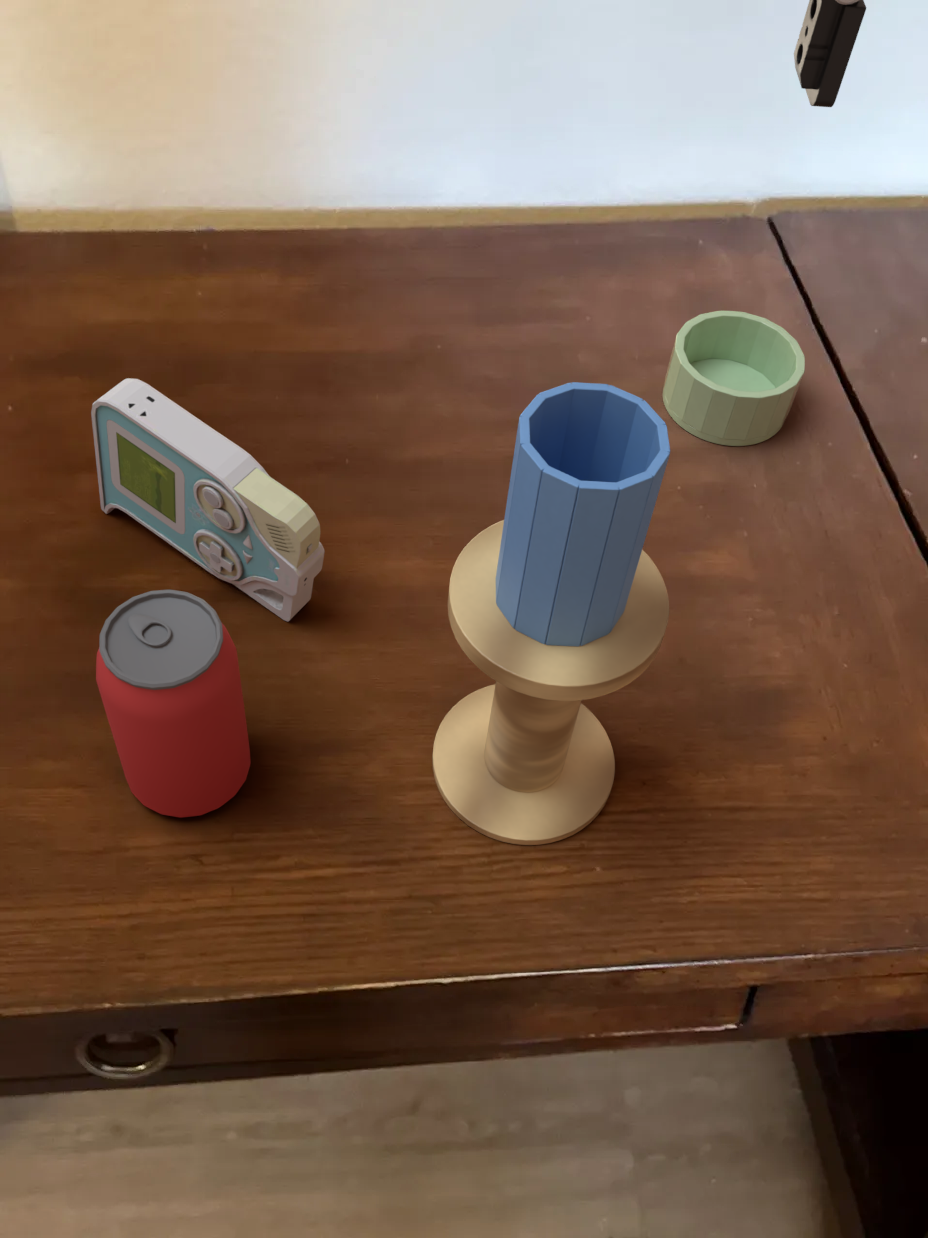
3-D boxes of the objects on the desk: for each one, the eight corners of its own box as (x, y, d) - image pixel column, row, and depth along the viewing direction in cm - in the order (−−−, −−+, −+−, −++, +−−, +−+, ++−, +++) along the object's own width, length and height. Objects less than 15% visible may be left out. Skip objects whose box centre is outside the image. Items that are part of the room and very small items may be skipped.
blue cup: (644, 580, 56) (692, 420, 48) (588, 667, 52) (629, 511, 44) (533, 526, 57) (562, 363, 49) (472, 608, 54) (492, 447, 46)
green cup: (804, 390, 87) (823, 341, 83) (758, 465, 82) (776, 416, 78) (692, 343, 89) (706, 293, 86) (641, 413, 84) (654, 363, 81)
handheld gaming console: (287, 648, 73) (97, 512, 75) (316, 618, 74) (129, 486, 77) (301, 539, 63) (83, 389, 66) (334, 508, 65) (120, 362, 67)
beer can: (186, 695, 68) (159, 557, 58) (277, 758, 66) (263, 626, 56) (99, 777, 64) (55, 645, 55) (192, 846, 62) (163, 721, 53)
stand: (643, 739, 68) (704, 569, 56) (561, 879, 63) (610, 724, 51) (488, 659, 71) (516, 481, 59) (397, 787, 65) (407, 619, 53)
